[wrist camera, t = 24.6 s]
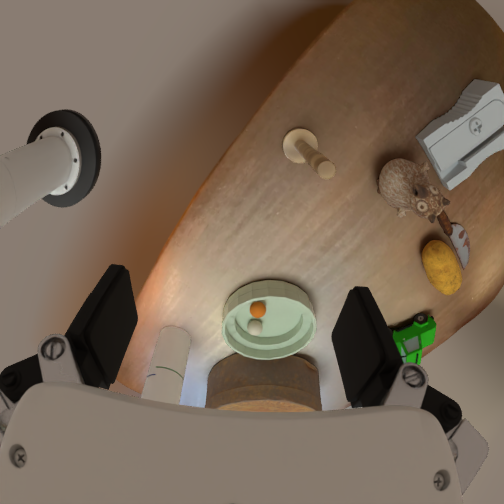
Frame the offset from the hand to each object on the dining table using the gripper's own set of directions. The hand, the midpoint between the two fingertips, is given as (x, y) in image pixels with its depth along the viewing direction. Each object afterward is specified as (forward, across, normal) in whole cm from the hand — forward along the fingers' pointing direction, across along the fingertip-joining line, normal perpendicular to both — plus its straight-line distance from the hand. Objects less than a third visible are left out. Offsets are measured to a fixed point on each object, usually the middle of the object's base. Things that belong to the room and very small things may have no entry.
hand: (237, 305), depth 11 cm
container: (+31, -9, +53) cm, 62 cm away
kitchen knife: (+31, -43, +7) cm, 53 cm away
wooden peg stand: (+30, -7, -3) cm, 31 cm away
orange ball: (+28, -5, +26) cm, 39 cm away
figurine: (+31, -23, -1) cm, 38 cm away
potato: (+31, -39, +13) cm, 51 cm away
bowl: (+30, -7, +29) cm, 43 cm away
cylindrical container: (+31, +12, +39) cm, 51 cm away
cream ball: (+28, -5, +31) cm, 42 cm away
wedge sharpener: (+31, -36, -13) cm, 49 cm away
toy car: (+31, -40, +34) cm, 61 cm away
